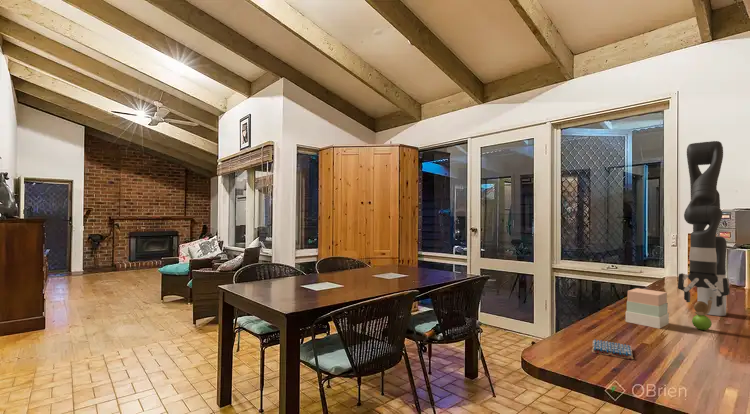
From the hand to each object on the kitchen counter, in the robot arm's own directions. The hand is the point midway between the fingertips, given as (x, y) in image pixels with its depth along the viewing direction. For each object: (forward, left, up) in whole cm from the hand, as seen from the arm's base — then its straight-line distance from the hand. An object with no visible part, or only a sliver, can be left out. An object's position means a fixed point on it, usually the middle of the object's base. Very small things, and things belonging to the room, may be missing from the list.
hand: (702, 304), depth 138 cm
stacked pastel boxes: (+6, -16, -9) cm, 19 cm away
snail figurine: (0, 0, -10) cm, 10 cm away
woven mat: (+53, -11, -10) cm, 55 cm away
